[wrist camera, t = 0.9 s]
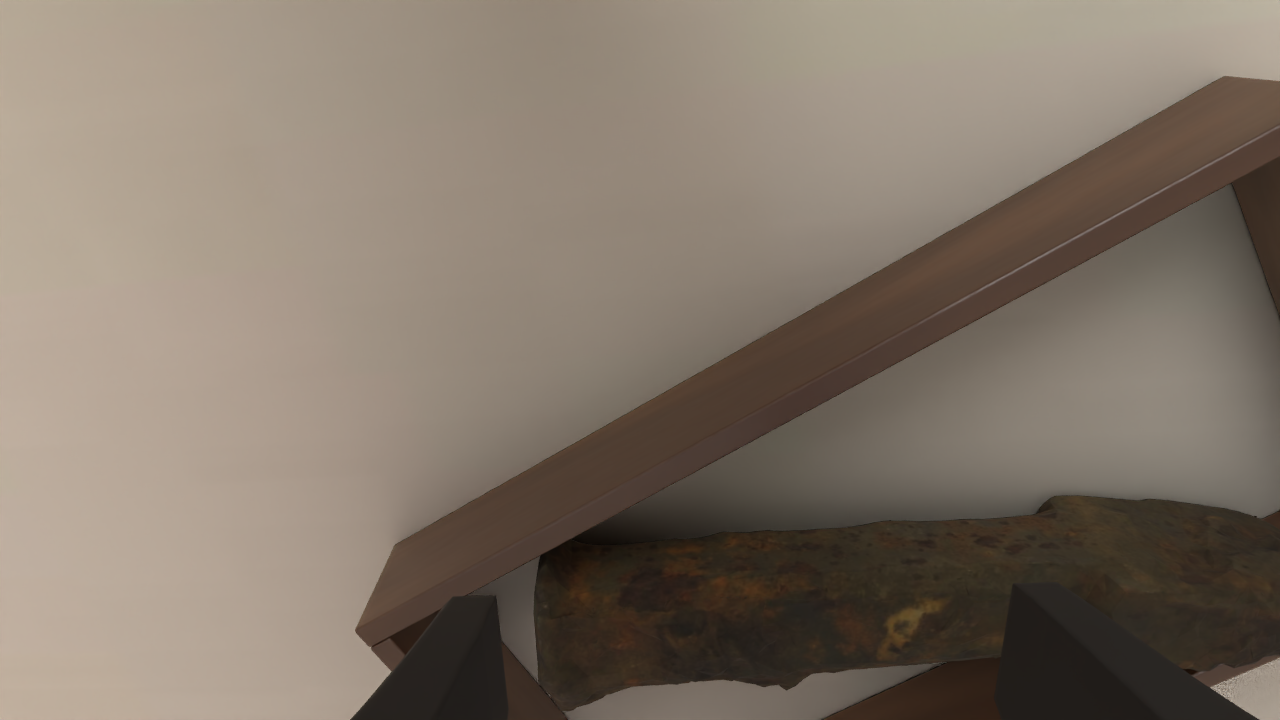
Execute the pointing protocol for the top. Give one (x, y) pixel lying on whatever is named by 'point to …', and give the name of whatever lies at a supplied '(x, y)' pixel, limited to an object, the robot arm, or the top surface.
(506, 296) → the top surface
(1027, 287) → the storage box
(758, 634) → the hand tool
